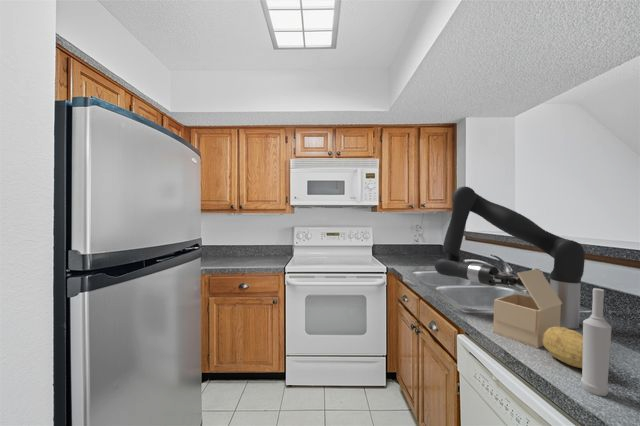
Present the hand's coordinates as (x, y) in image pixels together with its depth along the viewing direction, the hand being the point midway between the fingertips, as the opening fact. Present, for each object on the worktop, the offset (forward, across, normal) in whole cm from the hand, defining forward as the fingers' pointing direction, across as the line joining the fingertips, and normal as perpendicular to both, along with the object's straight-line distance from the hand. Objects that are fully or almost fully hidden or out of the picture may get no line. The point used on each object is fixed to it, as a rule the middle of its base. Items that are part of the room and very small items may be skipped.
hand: (531, 283), depth 106 cm
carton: (-1, 0, +18) cm, 19 cm away
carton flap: (+2, 0, +1) cm, 3 cm away
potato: (+15, -10, +19) cm, 26 cm away
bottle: (+24, -21, +19) cm, 37 cm away
